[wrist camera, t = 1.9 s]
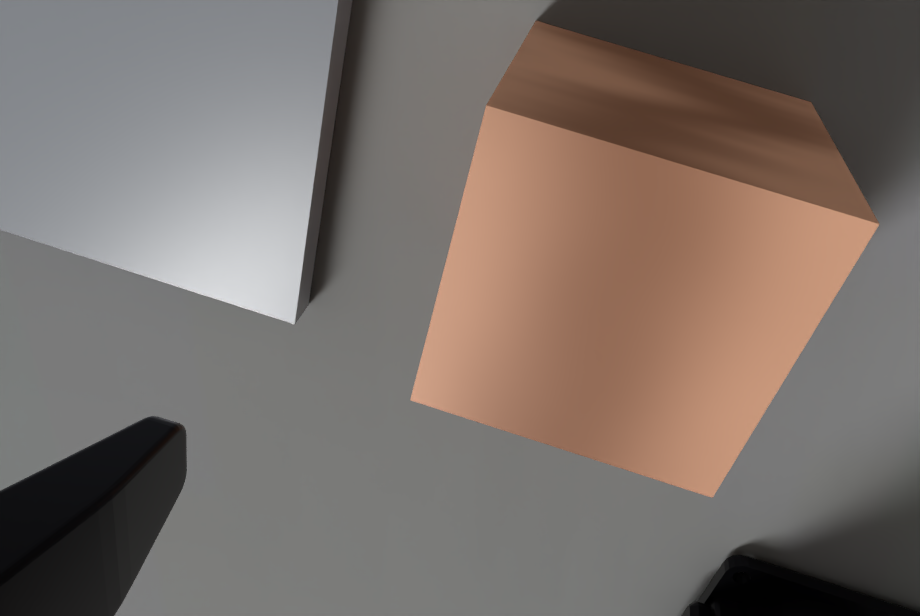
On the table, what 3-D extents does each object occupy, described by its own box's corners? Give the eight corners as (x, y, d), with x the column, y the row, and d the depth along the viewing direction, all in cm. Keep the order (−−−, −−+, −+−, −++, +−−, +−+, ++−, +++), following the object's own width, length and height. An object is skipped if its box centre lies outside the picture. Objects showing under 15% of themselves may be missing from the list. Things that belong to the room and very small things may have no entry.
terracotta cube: (810, 100, 16) (879, 224, 11) (697, 326, 20) (712, 497, 15) (536, 19, 17) (486, 105, 12) (471, 255, 20) (410, 400, 15)
